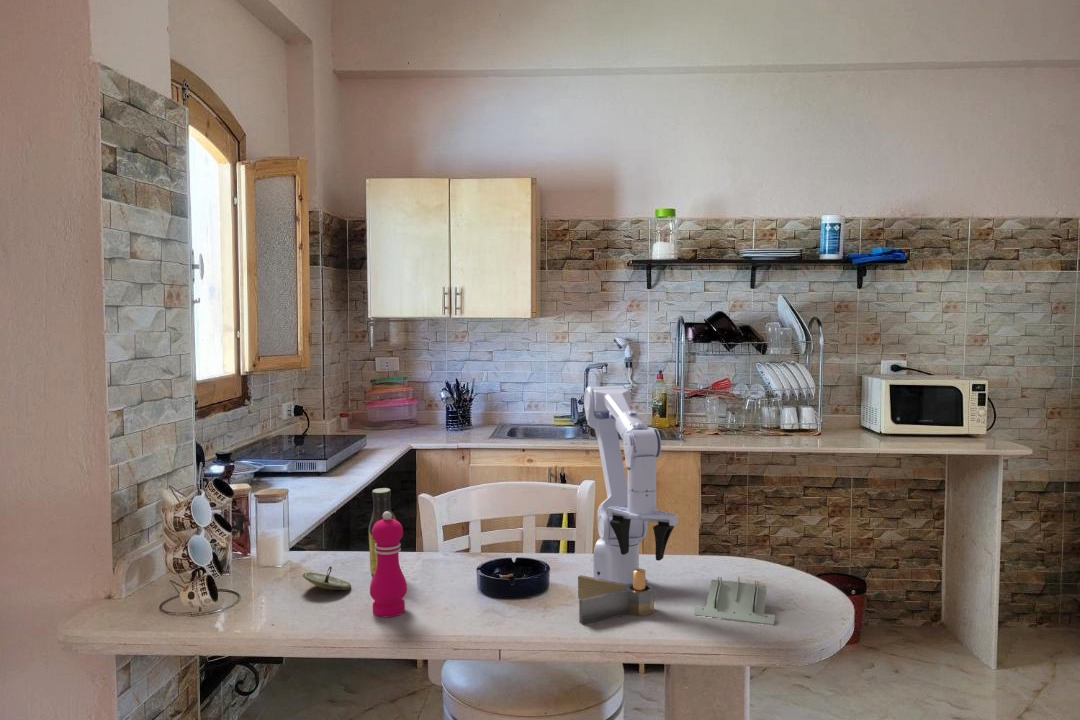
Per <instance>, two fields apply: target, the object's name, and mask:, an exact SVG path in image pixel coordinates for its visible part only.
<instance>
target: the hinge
mask: <svg viewBox="0 0 1080 720" xmlns="http://www.w3.org/2000/svg"><path fill="white" fill-rule="evenodd" d="M577 598H578V602H579V603H578V606H579V608H578V610H579V613H578V615H579V619H578V621H579V624H581V625H586V624H589V623H593V622H598V621H603V620H607V619H611V618H617V617H620V616H625V615H633V616H638V617H640V616H641V617H642V616H649V615H651V614H652V613H654V612H655V588H654V586H652V585H651V584H648V583H645V591H640V592H638V591H634V590H633V583H632V584H628V585H627V584H622V583H617V582H612V581H607V580H602V579H597V578H594V577H591V576H586V575H581V574H580V575H578V577H577ZM653 611H654V612H653Z"/></svg>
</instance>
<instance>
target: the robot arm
mask: <svg viewBox="0 0 1080 720" xmlns="http://www.w3.org/2000/svg"><path fill="white" fill-rule="evenodd" d="M631 394H632V393H631V391H630V388H629V387H628V385H615V386H613V385H612V386H611V385H609V386H590V385H588V386H587V387H586V388H585V391H584V394H583V395H584V396H583V407H584V414H585V419H586V421H587V426H589V427H590V428H592V429H593V430H594V432H595V434H596V439H597V440H596V441H597V444H598V451H599V455H600V457H599V458H600V462H601V469H602V474H603V480H604V485H605V486H604V487H605V491H606V497H607V498H606V499H604V500H603V501H602V502H601V503H600V504H599V506H598V509H597V529H598V530H597V532H598V535H599V538H598V540H597V541H596V543H595V545H594V547H593V548H594V549H593V578H597V579H602V580H607V581H612V582H617V583H622V584H627V585H628V584H632V583H633V570H634V569H640V544H642V543H643V541H642V540H643V539H645V538H646V536H647V533H648V528H649V527H648V525H649V524H648V523H649V522H650V523H655V524H656V525H653V526H652V528H653V533H654V541H655V560H656V561H661V560H663V559H664V557H665V550H666V547H667V544H668V541H669V539H670V536H671V533H672V532H673V530H674V528H675V526H676V525H678V524H679V519H678V518H679V517H678V513H677V514H676V513H671V512H667V511H663V510H659V509H657V458H659V457H660V455H661V451H662V440H661V435H660V432H659V430H658V429H657V428H656V427H654V428H653V427H648V426H647V424H646V422H645V421H644V419H643V418H642V416H641V415H640V413H638V412H637V411H636V410H632V409H631V406H632V395H631ZM619 436H620V438H621V439H622V441H623V442H622V443H623V445H622V446H623V452H624V457H625V459H623V454H622V449H621V444H620V439H619ZM623 460H624V461H625V462H624V461H623ZM624 463H625V466H626V467H627V477H626V473H625V466H624ZM646 579H647V577H646V576H645V580H646Z"/></svg>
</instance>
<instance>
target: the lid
mask: <svg viewBox="0 0 1080 720" xmlns="http://www.w3.org/2000/svg"><path fill="white" fill-rule="evenodd" d="M332 570H333V569H332V566H329V567H328V569H327V571H326V572H327V573H326V574H322V573H318V572H304V573H303V574H302V577H303V578H304V579H305V580H306V581H308V582H309V583H310V584H312V585H314V586H317V587H318V588H320V589H326V590H331V591H340V590H344V591H346V590H347V591H348V590H350V589H352V585H351V583H350V582H348V581H345V580H343V579H340V578H338V577H334V576H330V574H331V573H332Z"/></svg>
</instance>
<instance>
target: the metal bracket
mask: <svg viewBox="0 0 1080 720" xmlns="http://www.w3.org/2000/svg"><path fill="white" fill-rule="evenodd" d="M737 578H738V579H737V581H730V580H722V579H723V577H722V576H717V579H711V580H710V585H709V588H708V589H709V591H708V595H707V599H706V605H705V606H701V605H699V606H698V605H697V606H695V607H694V611H693V616H694V615H695V616H705V617H712V618H711V619H714V618H721V619H720V620H722V619H725V620H724V621H731V620H734V621H733V622H739V621H740V623H747V622H749V623H748V624H755V625H757V624H763V625H762V626H765V625H770V626H769V627H773V625H774V626H775V621H776V616H775V614H769V613H765V609H766V599H767V598H766V597H767V589H768V585H766V584H760V582H759V580H754V583H750V582H749V583H748V582H742V581H740V579H741V578H740V576H738V577H737ZM695 616H694V617H695ZM771 625H772V626H771Z"/></svg>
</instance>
